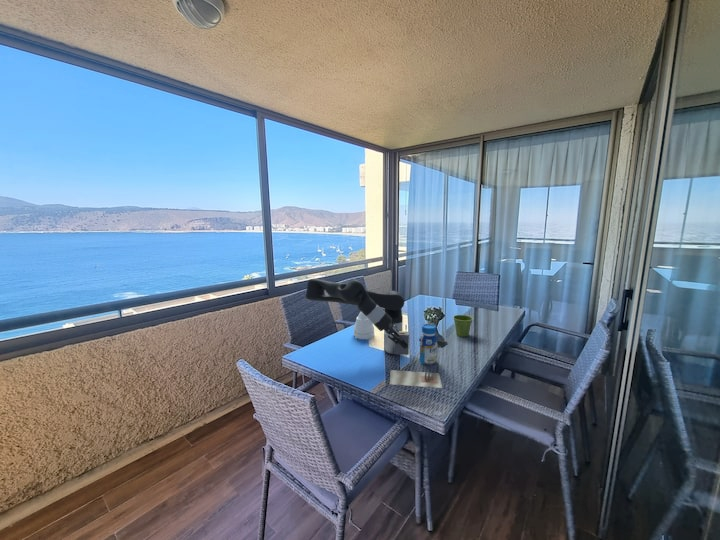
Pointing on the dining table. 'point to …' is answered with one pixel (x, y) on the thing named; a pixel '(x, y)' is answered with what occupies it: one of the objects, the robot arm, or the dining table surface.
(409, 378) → the board
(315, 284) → the robot arm
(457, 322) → the plant pot
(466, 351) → the dining table surface
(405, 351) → the plug housing
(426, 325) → the beverage bottle
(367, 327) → the honey pot
